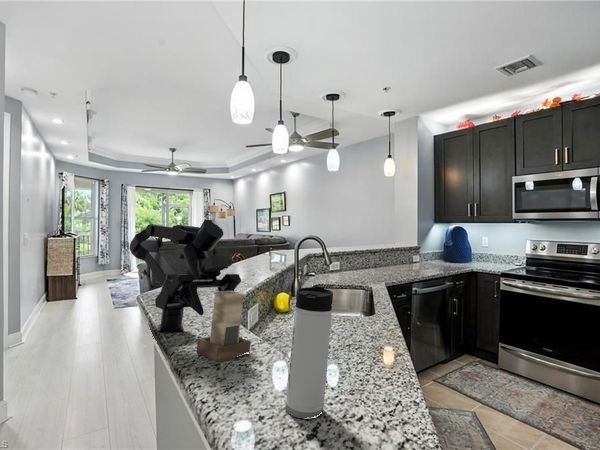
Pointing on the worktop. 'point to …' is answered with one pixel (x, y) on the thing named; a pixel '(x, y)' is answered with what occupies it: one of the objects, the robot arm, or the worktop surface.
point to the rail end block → (226, 318)
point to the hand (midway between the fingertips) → (218, 312)
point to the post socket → (222, 349)
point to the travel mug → (309, 352)
